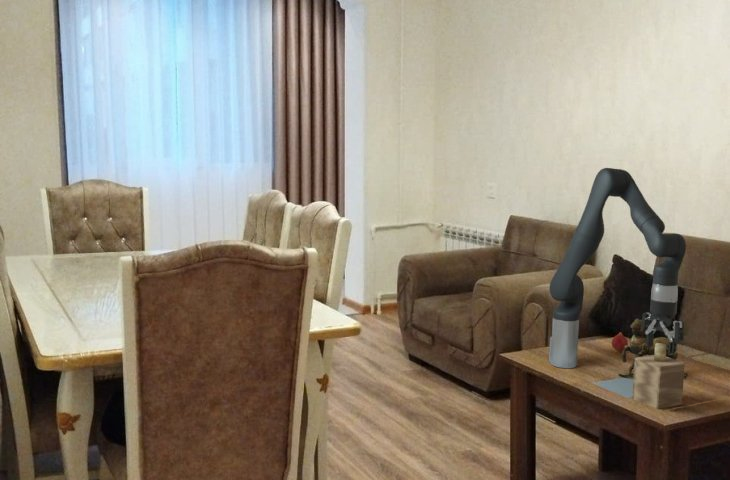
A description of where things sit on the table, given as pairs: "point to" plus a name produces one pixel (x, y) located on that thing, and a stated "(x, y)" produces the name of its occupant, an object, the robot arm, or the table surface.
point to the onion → (619, 342)
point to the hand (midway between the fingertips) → (660, 349)
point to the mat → (618, 386)
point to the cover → (658, 379)
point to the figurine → (642, 347)
